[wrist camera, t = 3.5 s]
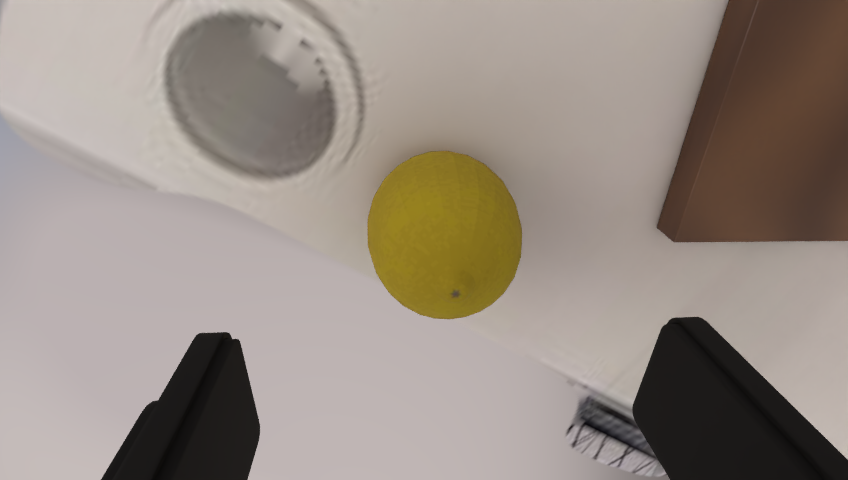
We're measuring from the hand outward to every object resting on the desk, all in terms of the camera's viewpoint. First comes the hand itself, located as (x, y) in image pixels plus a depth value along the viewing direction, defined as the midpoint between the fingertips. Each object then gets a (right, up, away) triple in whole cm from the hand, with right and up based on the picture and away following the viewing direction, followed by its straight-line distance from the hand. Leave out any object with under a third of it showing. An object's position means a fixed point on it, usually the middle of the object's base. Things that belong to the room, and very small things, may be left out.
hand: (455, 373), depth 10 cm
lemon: (0, +5, +10) cm, 11 cm away
